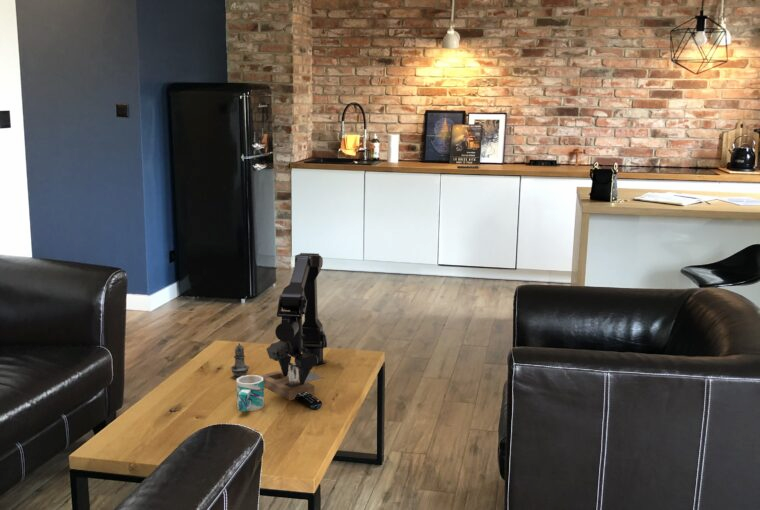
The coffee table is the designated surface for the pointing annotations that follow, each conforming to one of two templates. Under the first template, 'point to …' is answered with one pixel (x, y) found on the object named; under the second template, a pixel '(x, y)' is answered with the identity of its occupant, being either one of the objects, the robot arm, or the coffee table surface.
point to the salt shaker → (239, 363)
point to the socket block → (285, 385)
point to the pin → (293, 375)
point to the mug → (250, 392)
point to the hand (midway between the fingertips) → (293, 380)
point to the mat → (311, 376)
